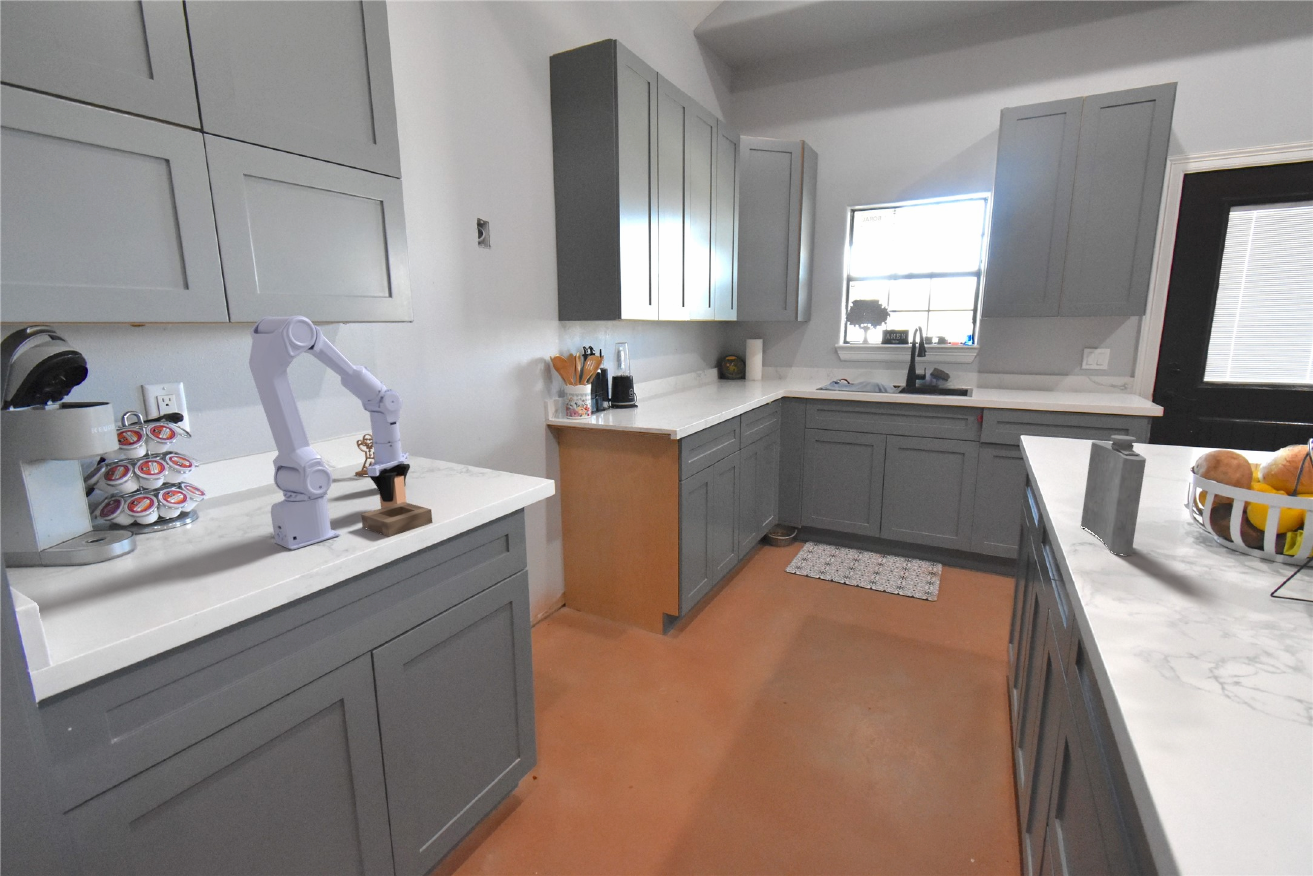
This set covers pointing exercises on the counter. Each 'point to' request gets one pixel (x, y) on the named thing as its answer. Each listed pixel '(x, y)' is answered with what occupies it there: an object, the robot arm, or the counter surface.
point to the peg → (396, 493)
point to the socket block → (396, 518)
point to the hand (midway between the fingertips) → (393, 498)
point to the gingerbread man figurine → (365, 471)
